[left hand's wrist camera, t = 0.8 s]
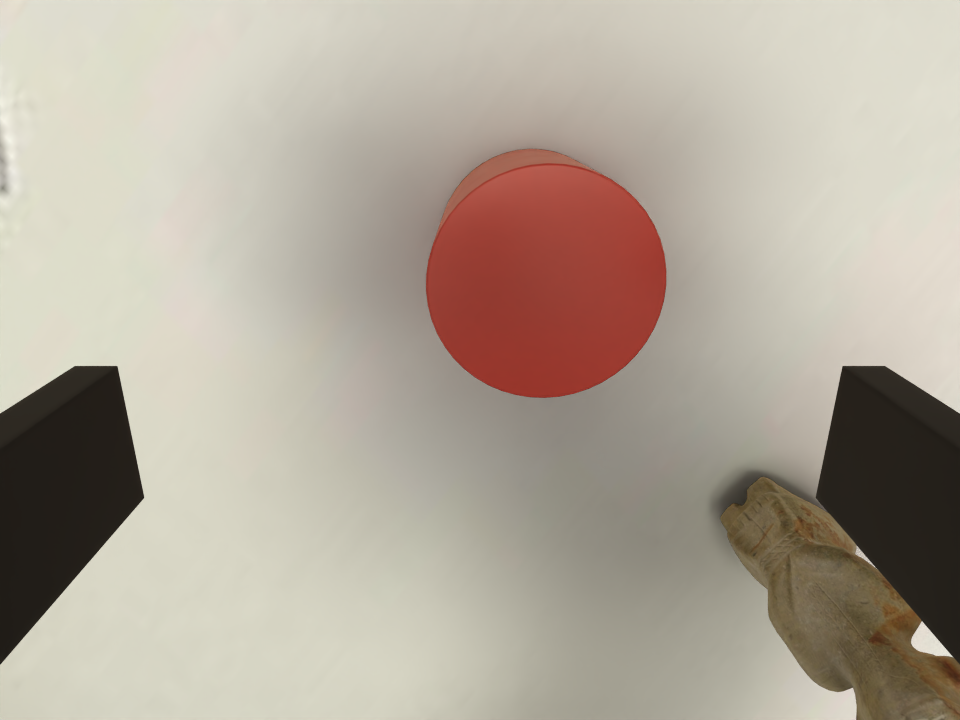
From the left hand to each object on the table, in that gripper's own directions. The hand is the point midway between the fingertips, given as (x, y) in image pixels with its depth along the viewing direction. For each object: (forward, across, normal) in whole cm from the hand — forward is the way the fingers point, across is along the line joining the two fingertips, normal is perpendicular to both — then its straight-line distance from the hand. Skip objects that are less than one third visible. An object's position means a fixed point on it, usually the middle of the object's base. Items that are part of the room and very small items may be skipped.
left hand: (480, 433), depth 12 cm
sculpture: (+21, -17, +16) cm, 31 cm away
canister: (+21, -2, 0) cm, 22 cm away
